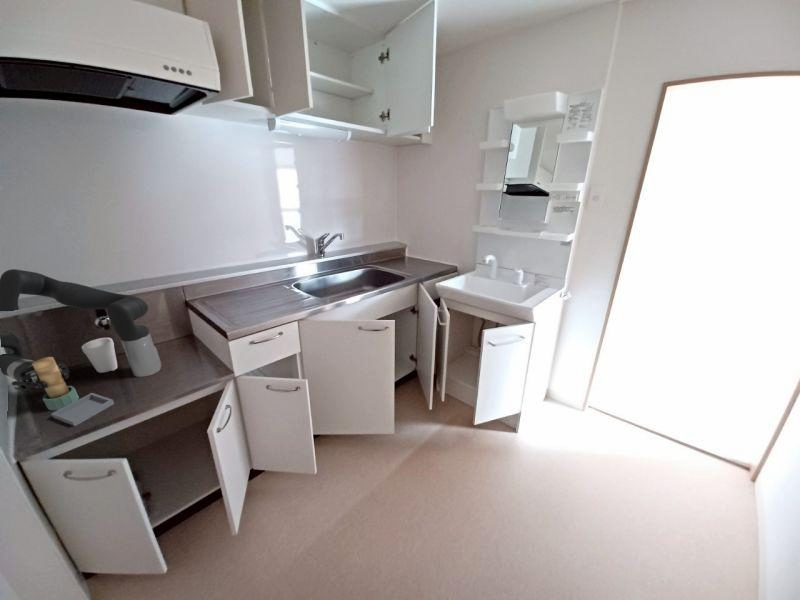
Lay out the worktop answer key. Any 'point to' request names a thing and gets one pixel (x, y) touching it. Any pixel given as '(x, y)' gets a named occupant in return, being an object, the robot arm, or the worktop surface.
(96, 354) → the foam cup
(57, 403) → the holder pot
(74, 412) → the tray
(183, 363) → the worktop surface
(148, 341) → the robot arm
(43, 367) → the wooden dowel
